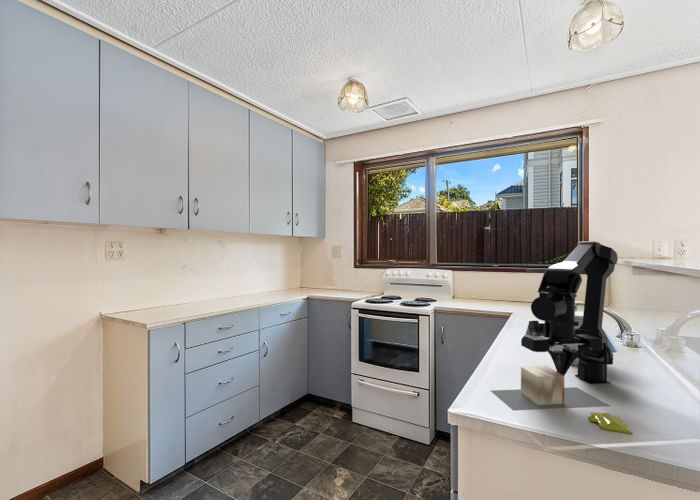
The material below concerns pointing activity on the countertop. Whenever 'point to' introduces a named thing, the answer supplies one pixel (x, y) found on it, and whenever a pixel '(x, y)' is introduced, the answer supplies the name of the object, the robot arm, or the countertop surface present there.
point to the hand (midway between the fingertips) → (561, 375)
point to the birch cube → (542, 385)
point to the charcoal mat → (571, 400)
